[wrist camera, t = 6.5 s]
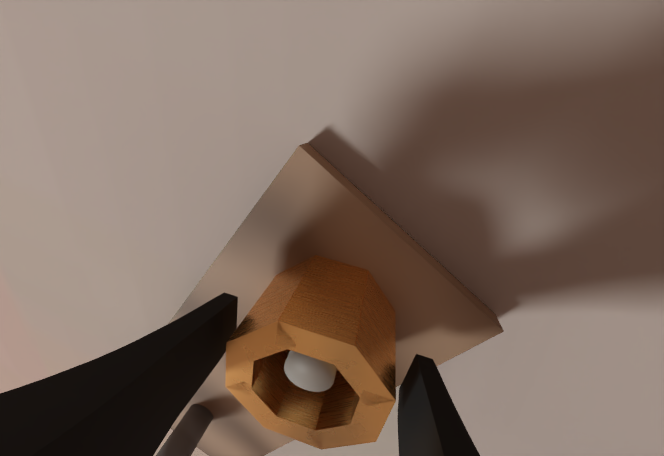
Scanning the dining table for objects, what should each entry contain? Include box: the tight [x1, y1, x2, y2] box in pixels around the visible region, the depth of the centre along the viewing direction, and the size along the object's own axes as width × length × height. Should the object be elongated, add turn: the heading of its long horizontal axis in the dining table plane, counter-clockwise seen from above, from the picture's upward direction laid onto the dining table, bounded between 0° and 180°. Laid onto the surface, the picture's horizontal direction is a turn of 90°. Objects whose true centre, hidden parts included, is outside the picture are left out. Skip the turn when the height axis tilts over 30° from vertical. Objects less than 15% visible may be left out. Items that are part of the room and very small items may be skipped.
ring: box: [225, 255, 396, 449], centre depth 10 cm, size 6×6×4 cm
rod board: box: [156, 143, 503, 456], centre depth 14 cm, size 24×11×4 cm, turn 140°
